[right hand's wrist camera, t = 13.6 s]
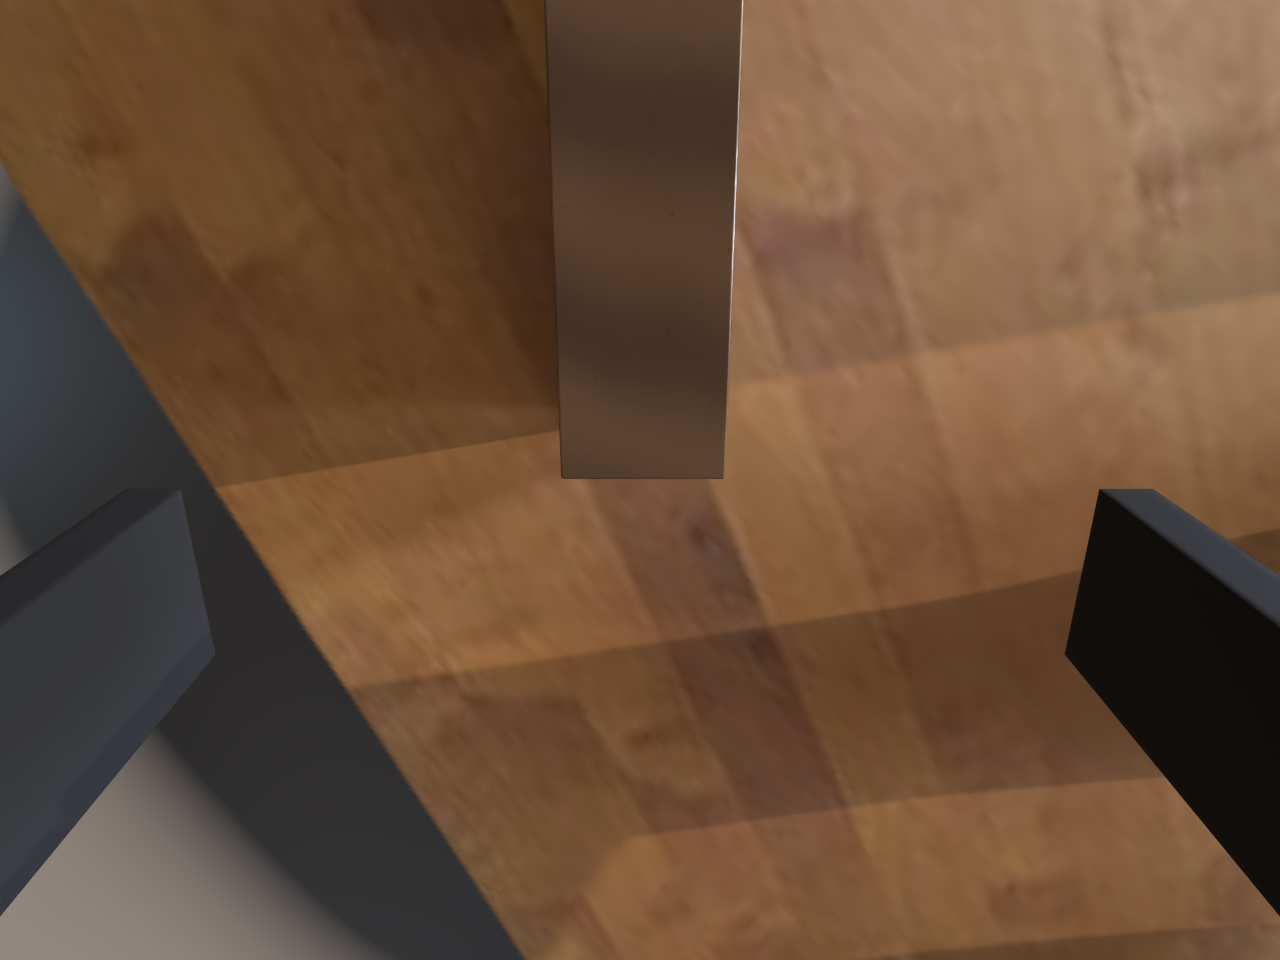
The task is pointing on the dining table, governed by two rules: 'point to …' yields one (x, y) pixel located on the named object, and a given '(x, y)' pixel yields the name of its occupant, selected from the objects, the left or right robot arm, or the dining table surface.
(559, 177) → the post
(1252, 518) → the dining table surface
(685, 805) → the dining table surface
